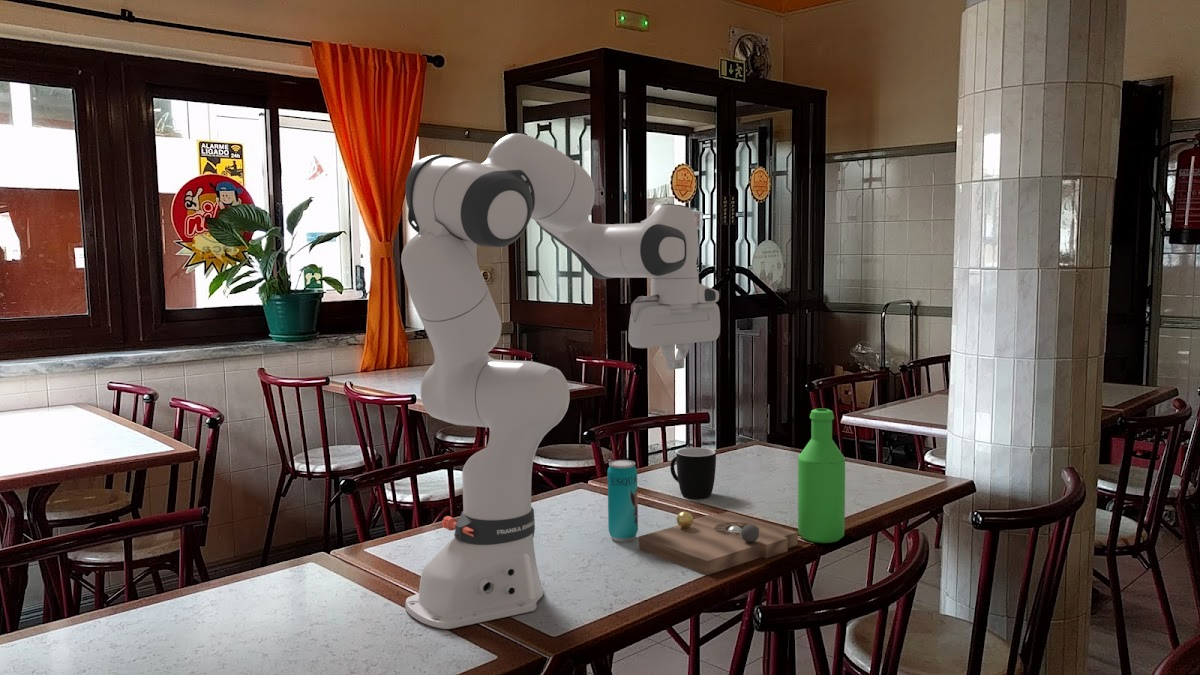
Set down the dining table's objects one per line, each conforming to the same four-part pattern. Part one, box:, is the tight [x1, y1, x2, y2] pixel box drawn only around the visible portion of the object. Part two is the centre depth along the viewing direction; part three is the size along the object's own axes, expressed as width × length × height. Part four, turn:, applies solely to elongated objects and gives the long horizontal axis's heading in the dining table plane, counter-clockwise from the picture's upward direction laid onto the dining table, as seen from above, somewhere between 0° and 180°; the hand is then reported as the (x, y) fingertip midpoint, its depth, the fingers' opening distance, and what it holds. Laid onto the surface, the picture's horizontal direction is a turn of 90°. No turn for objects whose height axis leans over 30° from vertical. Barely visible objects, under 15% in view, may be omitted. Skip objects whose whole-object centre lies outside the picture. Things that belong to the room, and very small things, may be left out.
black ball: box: [741, 525, 759, 543], centre depth 167 cm, size 3×3×3 cm
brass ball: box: [676, 510, 694, 528], centre depth 177 cm, size 3×3×3 cm
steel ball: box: [727, 526, 742, 533], centre depth 175 cm, size 3×3×3 cm
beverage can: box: [606, 459, 639, 543], centre depth 178 cm, size 6×6×15 cm
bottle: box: [797, 408, 846, 544], centre depth 176 cm, size 9×9×25 cm
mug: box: [669, 447, 717, 500], centre depth 209 cm, size 12×9×10 cm
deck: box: [638, 511, 799, 576], centre depth 173 cm, size 24×20×2 cm
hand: (675, 368), depth 169 cm, fingers closed
